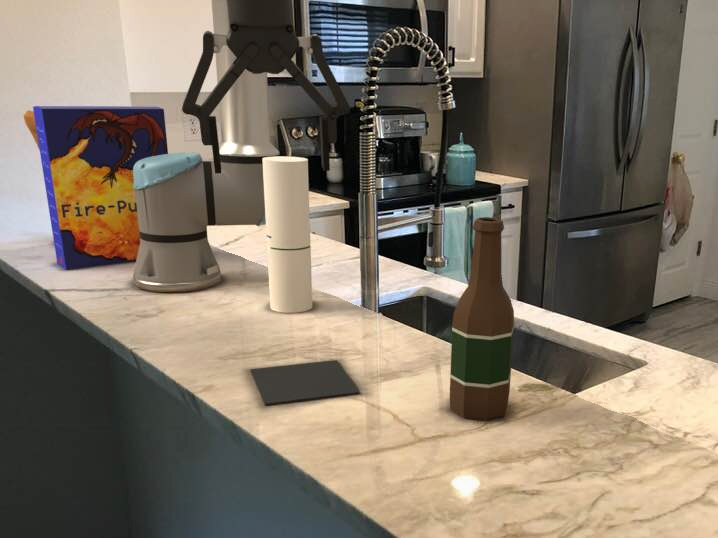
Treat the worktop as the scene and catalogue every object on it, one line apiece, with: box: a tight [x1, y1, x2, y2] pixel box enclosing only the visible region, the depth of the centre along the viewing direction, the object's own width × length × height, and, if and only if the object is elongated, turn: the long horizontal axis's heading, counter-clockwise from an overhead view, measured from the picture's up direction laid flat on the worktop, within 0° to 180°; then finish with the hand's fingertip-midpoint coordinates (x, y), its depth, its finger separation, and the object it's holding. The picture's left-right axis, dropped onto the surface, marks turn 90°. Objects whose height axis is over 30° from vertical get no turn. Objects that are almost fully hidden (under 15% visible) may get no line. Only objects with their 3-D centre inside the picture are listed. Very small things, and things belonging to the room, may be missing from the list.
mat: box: [250, 359, 360, 406], centre depth 101 cm, size 12×12×1 cm
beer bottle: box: [449, 216, 515, 422], centre depth 92 cm, size 8×8×24 cm
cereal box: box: [32, 105, 169, 271], centre depth 151 cm, size 22×6×30 cm, turn 132°
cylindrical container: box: [262, 155, 313, 314], centre depth 128 cm, size 7×7×25 cm
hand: (273, 169), depth 99 cm, fingers open, 13 cm apart
